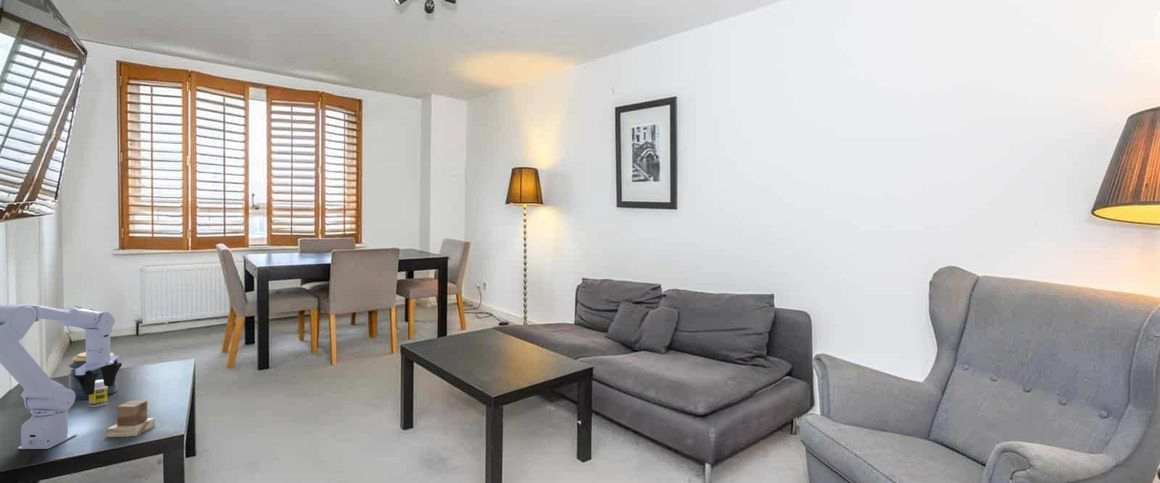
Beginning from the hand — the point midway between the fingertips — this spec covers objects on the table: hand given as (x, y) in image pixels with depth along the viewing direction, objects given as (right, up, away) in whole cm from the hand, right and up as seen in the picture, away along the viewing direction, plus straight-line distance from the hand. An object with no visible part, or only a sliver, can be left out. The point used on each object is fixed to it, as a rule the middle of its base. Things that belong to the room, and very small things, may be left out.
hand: (99, 390), depth 164 cm
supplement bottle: (-14, -10, +14) cm, 22 cm away
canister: (-25, -9, +24) cm, 36 cm away
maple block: (+15, -12, -6) cm, 20 cm away
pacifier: (+9, -11, +3) cm, 15 cm away
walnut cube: (+15, -9, -5) cm, 18 cm away
